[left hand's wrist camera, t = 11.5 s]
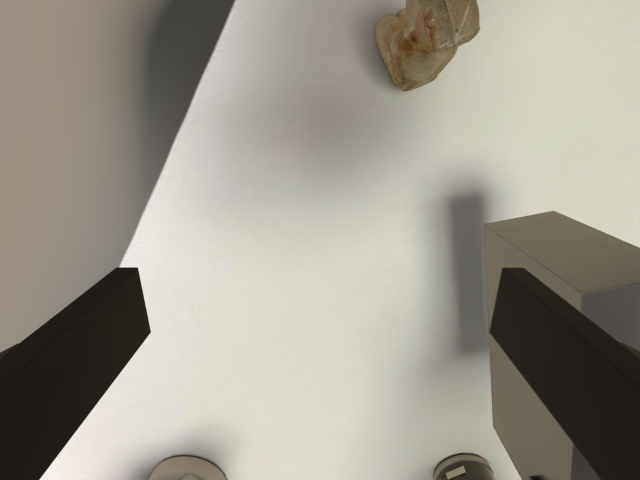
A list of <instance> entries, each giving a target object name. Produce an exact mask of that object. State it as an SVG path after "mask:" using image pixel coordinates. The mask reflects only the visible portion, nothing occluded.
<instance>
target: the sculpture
mask: <svg viewBox="0 0 640 480" xmlns="http://www.w3.org/2000/svg"><path fill="white" fill-rule="evenodd" d="M479 30H480V26H479V10H478V5H477V1H476V0H406V8H403V9H401V10H400V11H399V12H398V14H397V17H394V16H391V15H386V16H384V17H382V18H381V19H380V20H379V21H378V22H377V24H376V27H375V37H376V42H377V45H378V48H379V51H380V53H381V55H382V58H383V60H384V62H385V64H386V66H387V68H388V70H389V72H390V74H391V77H392V79H393V82H394V83H395V85H396V86H399V87H400V88H401V89H402V90H403V91H409V90H412V89H415V88H418V87H420V86H423V85H425V84H427V83H429V82H431V81H433V80H434V79H435V78H436V77H437V75H438V74H439V73H440V72H441V71H442V70H443V69H444V67H445V66H446V65H447V64H448V63H449V61H450V60H451V59H452V58H453V56H454V55H455V53H456V51H457V48H458V46H459V45H462V44H464V43H466V42H468V41H470V40H471V39H473V38H474V37H475V36H476V35H477V33H478V32H479Z"/></svg>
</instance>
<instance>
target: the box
mask: <svg viewBox="0 0 640 480" xmlns="http://www.w3.org/2000/svg"><path fill="white" fill-rule="evenodd" d="M484 243H485V264H486V285H487V306H488V327H489V331H490V326H491V321H492V316H493V311H494V306H495V301H496V296H497V291H498V286H499V281H500V276H501V271H502V268H525V269H526V270H527V271H528V272H530V273H531V274H532V275H534V276H535V277H536V278H537V279H539V280H540V281H541V282H543V283H544V284H545V285H546V286H548V287H549V288H550V289H552V290H553V291H554V292H555V293H557V294H558V295H559V296H560V297H562V298H563V299H564V300H566V301H567V302H568V303H569V304H571V305H572V306H573V307H575V308H576V309H577V310H578V311H580V312H581V313H582V314H583V315H585V316H586V317H587V318H589V319H590V320H591V321H592V322H594V323H595V324H596V325H598V326H599V327H600V328H601V329H603V330H604V331H605V332H607V333H608V334H609V335H610V336H612V337H613V338H614V339H615V340H617V341H618V342H623V343H625V344H627V345H629V346H631V347H633V348H635V349H636V350H638V351H640V248H639V247H636V246H634V245H632V244H629V243H627V242H625V241H622V240H620V239H618V238H615V237H613V236H611V235H609V234H606V233H604V232H602V231H599V230H597V229H595V228H592V227H590V226H588V225H585V224H583V223H581V222H578V221H576V220H574V219H572V218H569V217H567V216H565V215H562V214H560V213H558V212H555V211H551V212H545V213H540V214H535V215H529V216H524V217H519V218H514V219H508V220H503V221H498V222H493V223H487V224H484ZM489 349H490V370H491V391H492V412H493V427H494V429H495V431H496V433H497V434H498V436H499V438H500V440H501V442H502V444H503V445H504V447H505V449H506V451H507V453H508V455H509V456H510V458H511V460H512V462H513V464H514V466H515V468H516V469H517V471H518V473H519V475H520V477H521V479H522V480H528V476H534V475H537V476H538V477H539V479H540V480H601V479H600V478H599V477H598V475H597V474H596V473H595V471H594V470H593V469H592V467H591V466H590V465H589V463H588V462H587V461H586V459H585V458H584V457H583V455H582V454H581V453H580V452H579V450H578V449H577V448H576V446H575V445H574V444H573V442H572V441H571V440H570V438H569V437H568V436H567V434H566V433H565V432H564V430H563V429H562V428H561V426H560V425H559V424H558V422H557V421H556V420H555V418H554V417H553V416H552V415H551V413H550V412H549V411H548V409H547V408H546V407H545V405H544V404H543V403H542V401H541V400H540V399H539V397H538V396H537V395H536V393H535V392H534V391H533V389H532V388H531V387H530V385H529V384H528V383H527V381H526V380H525V379H524V378H523V376H522V375H521V374H520V372H519V371H518V370H517V368H516V367H515V366H514V364H513V363H512V362H511V360H510V359H509V358H508V356H507V355H506V354H505V352H504V351H503V350H502V348H501V347H500V346H499V344H498V343H497V342H496V341H495V339H494V338H493V337H492V335H491V334H490V333H489Z"/></svg>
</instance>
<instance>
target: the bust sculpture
mask: <svg viewBox="0 0 640 480" xmlns="http://www.w3.org/2000/svg"><path fill="white" fill-rule="evenodd" d="M149 480H226V478H225V476H224V474H223V473H222V472H221V471H220V470H219V469H218V468H217V467H216V466H215V465H213V464H211V463H210V462H208V461H205V460H203V459H199V458H195V457H187V456H181V457H174V458H170V459H167V460H165V461H163V462H161V463H160V464H158V465H157V466H156V467H155V469H154V470H153V472H152V474H151V476H150V478H149Z"/></svg>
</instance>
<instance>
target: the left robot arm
mask: <svg viewBox="0 0 640 480" xmlns="http://www.w3.org/2000/svg"><path fill="white" fill-rule="evenodd" d="M150 333H151V331H150V326H149V321H148V316H147V311H146V306H145V301H144V296H143V291H142V286H141V281H140V276H139V271H138V268H115V269H114V270H113V271H112V272H110V273H109V274H108V275H106V276H105V277H104V278H103V279H101V280H100V281H99V282H98V283H96V284H95V285H94V286H92V287H91V288H90V289H88V290H87V291H86V292H85V293H83V294H82V295H81V296H80V297H78V298H77V299H76V300H75V301H73V302H72V303H71V304H69V305H68V306H67V307H65V308H64V309H63V310H62V311H60V312H59V313H58V314H57V315H55V316H54V317H53V318H51V319H50V320H49V321H48V322H46V323H45V324H44V325H42V326H41V327H40V328H39V329H37V330H36V331H35V332H34V333H32V334H31V335H30V336H28V337H27V338H26V339H25V340H23V341H22V342H21V343H19V344H16V345H14V346H12V347H10V348H8V349H6V350H5V351H3V352H1V353H0V480H39V479H40V478H41V477H42V475H43V474H44V473H45V471H46V470H47V469H48V467H49V466H50V465H51V463H52V462H53V461H54V459H55V458H56V457H57V455H58V454H59V453H60V452H61V450H62V449H63V448H64V446H65V445H66V444H67V442H68V441H69V440H70V438H71V437H72V436H73V434H74V433H75V432H76V430H77V429H78V428H79V426H80V425H81V424H82V422H83V421H84V420H85V418H86V417H87V416H88V415H89V413H90V412H91V411H92V409H93V408H94V407H95V405H96V404H97V403H98V401H99V400H100V399H101V397H102V396H103V395H104V393H105V392H106V391H107V389H108V388H109V387H110V385H111V384H112V383H113V381H114V380H115V379H116V378H117V376H118V375H119V374H120V372H121V371H122V370H123V368H124V367H125V366H126V364H127V363H128V362H129V360H130V359H131V358H132V356H133V355H134V354H135V352H136V351H137V350H138V348H139V347H140V346H141V344H142V343H143V342H144V341H145V339H146V338H147V337H148V335H149V334H150ZM489 333H490V334H491V335H492V337H493V338H494V339H495V341H496V342H497V343H498V344H499V346H500V347H501V348H502V350H503V351H504V352H505V354H506V355H507V356H508V358H509V359H510V360H511V362H512V363H513V364H514V366H515V367H516V368H517V370H518V371H519V372H520V374H521V375H522V376H523V378H524V379H525V380H526V381H527V383H528V384H529V385H530V387H531V388H532V389H533V391H534V392H535V393H536V395H537V396H538V397H539V399H540V400H541V401H542V403H543V404H544V405H545V407H546V408H547V409H548V411H549V412H550V413H551V415H552V416H553V417H554V418H555V420H556V421H557V422H558V424H559V425H560V426H561V428H562V429H563V430H564V432H565V433H566V434H567V436H568V437H569V438H570V440H571V441H572V442H573V444H574V445H575V446H576V448H577V449H578V450H579V452H580V453H581V454H582V455H583V457H584V458H585V459H586V461H587V462H588V463H589V465H590V466H591V467H592V469H593V470H594V471H595V473H596V474H597V475H598V477H599V478H600V479H601V480H640V351H638V350H636V349H635V348H633V347H631V346H629V345H627V344H625V343H623V342H618V341H617V340H615V339H614V338H613V337H612V336H610V335H609V334H608V333H607V332H605V331H604V330H603V329H601V328H600V327H599V326H598V325H596V324H595V323H594V322H592V321H591V320H590V319H589V318H587V317H586V316H585V315H583V314H582V313H581V312H580V311H578V310H577V309H576V308H575V307H573V306H572V305H571V304H569V303H568V302H567V301H566V300H564V299H563V298H562V297H560V296H559V295H558V294H557V293H555V292H554V291H553V290H552V289H550V288H549V287H548V286H546V285H545V284H544V283H543V282H541V281H540V280H539V279H537V278H536V277H535V276H534V275H532V274H531V273H530V272H528V271H527V270H526V269H525V268H502V271H501V276H500V281H499V286H498V291H497V296H496V301H495V306H494V311H493V316H492V321H491V326H490V331H489Z"/></svg>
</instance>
